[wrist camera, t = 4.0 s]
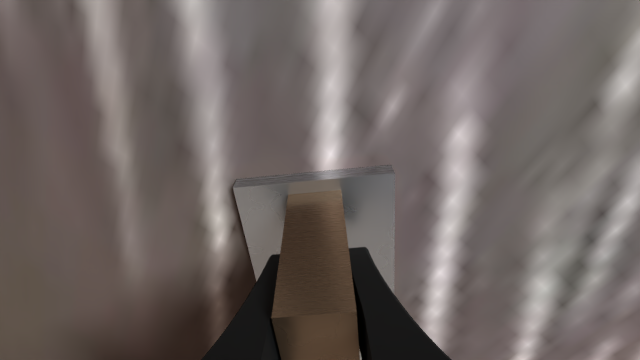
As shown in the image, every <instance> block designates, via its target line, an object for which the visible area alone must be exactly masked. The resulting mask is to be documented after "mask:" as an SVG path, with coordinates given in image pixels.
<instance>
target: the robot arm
mask: <svg viewBox="0 0 640 360" xmlns="http://www.w3.org/2000/svg"><path fill="white" fill-rule="evenodd" d="M349 255H350V263H351V271H352V279H353V287H354V295H355V303H356V311H357V325H358V340H359V348H360V353H361V357H362V360H451V359H450V358H449V357H448V356H447V355H446V354H445V353H444V352H443V351H442V350H441V349H440V348H439V347H438V346H437V345H436V344H435V343H434V342H433V341H432V340H431V339H430V338H429V337H428V336H427V335H426V333H425V332H424V331H423V330H422V329H421V328H420V327H419V326H418V324H417V323H416V322H415V321H414V320H413V318H412V317H411V316H410V315H409V314H408V312H407V311H406V310H405V308H404V307H403V306H402V304H401V303H400V302H399V300H398V299H397V298H396V296H395V295H394V294H393V292H392V291H391V289H390V288H389V286H388V285H387V283H386V282H385V280H384V279H383V277H382V275H381V274H380V272H379V270H378V269H377V267H376V265H375V263H374V261H373V259H372V257H371V255H370V253H369V250H368V249H367V248H366V247H357V248H349ZM279 258H280V254H273V255H271V256H270V257H269V259H268V261H267V263H266V265H265V267H264V269H263V271H262V273H261V275H260V276H259V278H258V280H257V282H256V284H255V285H254V287H253V289H252V290H251V292H250V294H249V295H248V297H247V299H246V300H245V302H244V303H243V305H242V307H241V308H240V309H239V311H238V312H237V314H236V315H235V317H234V318H233V320H232V321H231V323H230V324H229V325H228V327H227V328H226V330H225V331H224V332H223V334H222V335H221V336H220V337H219V339H218V340H217V341H216V342H215V344H214V345H213V346H212V347H211V349H210V350H209V351H208V352H207V353H206V355H205V356H204V357H203V358H202V359H201V360H281V356H280V352H279V348H278V344H277V339H276V335H275V331H274V327H273V323H272V319H271V317H272V310H273V303H274V295H275V288H276V280H277V273H278V266H279Z"/></svg>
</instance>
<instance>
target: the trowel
mask: <svg viewBox="0 0 640 360" xmlns="http://www.w3.org/2000/svg"><path fill="white" fill-rule="evenodd" d="M233 191H234V194H235V198H236V202H237V206H238V210H239V214H240V218H241V222H242V226H243V230H244V234H245V238H246V242H247V246H248V250H249V254H250V258H251V262H252V266H253V270H254V274H255V278H256V282H257V280H258V278H259V276H260V275H261V273H262V271H263V269H264V267H265V265H266V263H267V261H268V259H269V257H270V256H271V255H273V254H280V258H279V266H278V273H277V280H276V288H275V295H274V303H273V310H272V317H271V319H272V323H273V327H274V331H275V335H276V339H277V344H278V348H279V352H280V356H281V360H360V354H359V340H358V325H357V311H356V303H355V295H354V287H353V279H352V271H351V263H350V255H349V248H357V247H366V248H367V249H368V250H369V253H370V255H371V257H372V259H373V261H374V263H375V265H376V267H377V269H378V270H379V272H380V274H381V275H382V277H383V279H384V280H385V282H386V283H387V285H388V286H389V288H390V289H391V291H392V292H393V294H394V237H395V172H394V170H393V167H392V165H381V166H370V167H359V168H348V169H338V170H327V171H316V172H305V173H294V174H283V175H272V176H262V177H251V178H240V179H236V182H235V184H234V186H233Z"/></svg>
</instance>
